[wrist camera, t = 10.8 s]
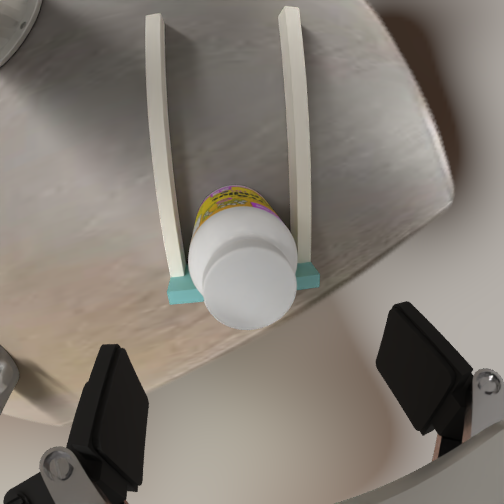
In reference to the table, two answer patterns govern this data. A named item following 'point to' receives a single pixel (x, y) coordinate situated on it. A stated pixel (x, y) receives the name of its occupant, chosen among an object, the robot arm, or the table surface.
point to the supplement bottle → (242, 259)
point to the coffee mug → (7, 376)
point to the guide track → (298, 153)
